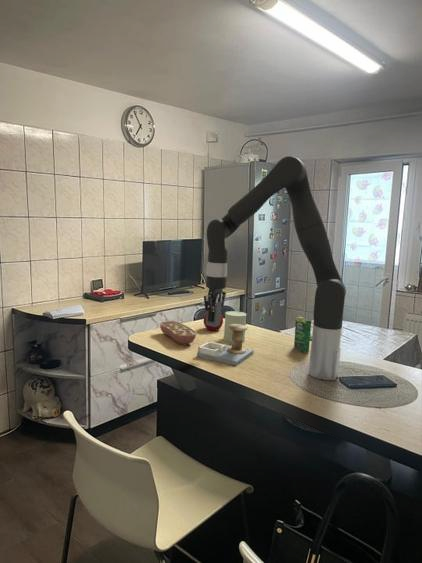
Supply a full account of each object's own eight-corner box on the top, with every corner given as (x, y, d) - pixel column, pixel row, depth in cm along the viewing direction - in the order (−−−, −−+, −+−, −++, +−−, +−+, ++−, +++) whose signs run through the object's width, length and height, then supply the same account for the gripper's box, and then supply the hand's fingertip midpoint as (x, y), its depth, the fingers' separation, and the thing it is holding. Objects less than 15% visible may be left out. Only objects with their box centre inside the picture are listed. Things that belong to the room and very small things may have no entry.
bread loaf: (156, 333, 180) (156, 322, 180) (177, 331, 185) (177, 320, 184) (178, 348, 161) (179, 336, 160) (201, 346, 166) (201, 334, 165)
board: (253, 353, 159) (253, 345, 159) (236, 365, 145) (237, 356, 145) (216, 346, 166) (216, 337, 166) (196, 356, 152) (197, 347, 152)
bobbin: (248, 350, 158) (250, 326, 157) (241, 355, 152) (243, 329, 151) (231, 346, 161) (233, 323, 160) (224, 351, 155) (225, 326, 154)
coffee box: (292, 347, 171) (295, 316, 169) (299, 346, 172) (301, 316, 170) (302, 353, 164) (305, 321, 162) (309, 352, 165) (312, 320, 163)
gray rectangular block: (220, 324, 154) (222, 297, 153) (215, 326, 151) (217, 298, 149) (210, 323, 156) (212, 295, 154) (205, 325, 153) (207, 296, 151)
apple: (215, 333, 185) (216, 311, 184) (198, 329, 190) (200, 308, 189) (226, 329, 193) (227, 308, 192) (209, 325, 198) (211, 305, 196)
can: (248, 339, 178) (250, 312, 177) (238, 344, 171) (240, 316, 169) (230, 335, 183) (231, 309, 181) (219, 339, 175) (221, 312, 174)
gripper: (217, 277, 143) (214, 326, 145) (234, 274, 155) (230, 318, 158) (198, 275, 146) (195, 322, 149) (216, 272, 159) (213, 315, 161)
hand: (213, 320), depth 153 cm, fingers closed on gray rectangular block, 4 cm apart
